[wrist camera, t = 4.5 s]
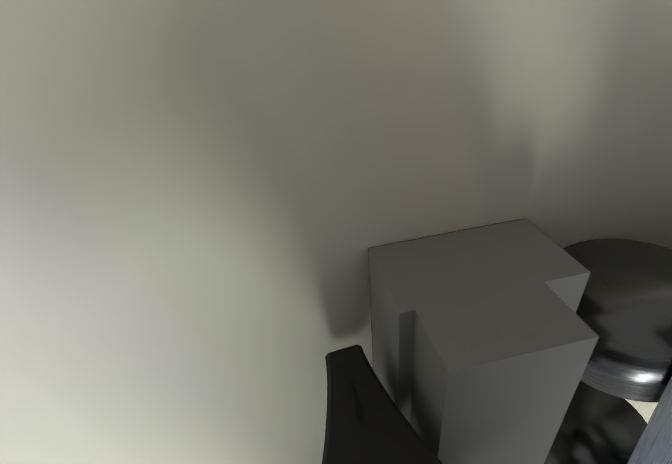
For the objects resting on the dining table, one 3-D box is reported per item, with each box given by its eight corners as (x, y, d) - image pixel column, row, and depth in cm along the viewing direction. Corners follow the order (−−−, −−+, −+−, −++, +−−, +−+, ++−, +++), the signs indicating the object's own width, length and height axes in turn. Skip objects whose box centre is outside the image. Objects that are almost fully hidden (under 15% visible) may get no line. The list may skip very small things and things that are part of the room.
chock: (494, 359, 14) (572, 475, 11) (374, 387, 13) (417, 519, 10) (525, 218, 11) (652, 324, 7) (368, 248, 10) (429, 376, 7)
